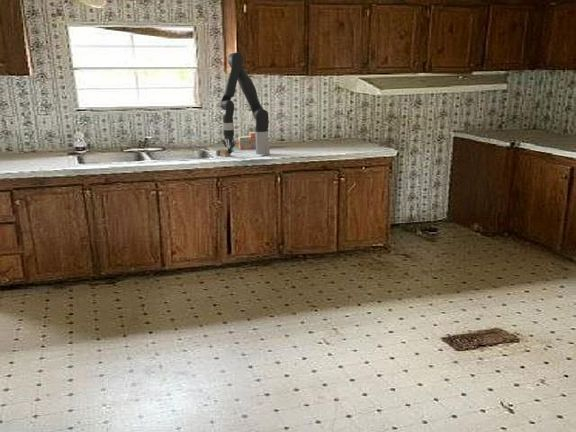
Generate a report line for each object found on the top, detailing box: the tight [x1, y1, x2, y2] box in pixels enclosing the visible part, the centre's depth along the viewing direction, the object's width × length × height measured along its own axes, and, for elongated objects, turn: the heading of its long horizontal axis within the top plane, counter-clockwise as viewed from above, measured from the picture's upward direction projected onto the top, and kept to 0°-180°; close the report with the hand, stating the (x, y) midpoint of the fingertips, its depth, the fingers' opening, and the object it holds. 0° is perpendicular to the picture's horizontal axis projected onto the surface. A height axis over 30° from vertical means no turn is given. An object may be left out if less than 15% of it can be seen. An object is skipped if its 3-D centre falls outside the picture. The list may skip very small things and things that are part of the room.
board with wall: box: [215, 148, 225, 157], centre depth 399 cm, size 7×8×5 cm
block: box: [219, 148, 231, 158], centre depth 397 cm, size 5×5×4 cm
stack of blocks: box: [237, 131, 256, 150], centre depth 433 cm, size 21×6×12 cm, turn 106°
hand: (229, 153), depth 394 cm, fingers closed
